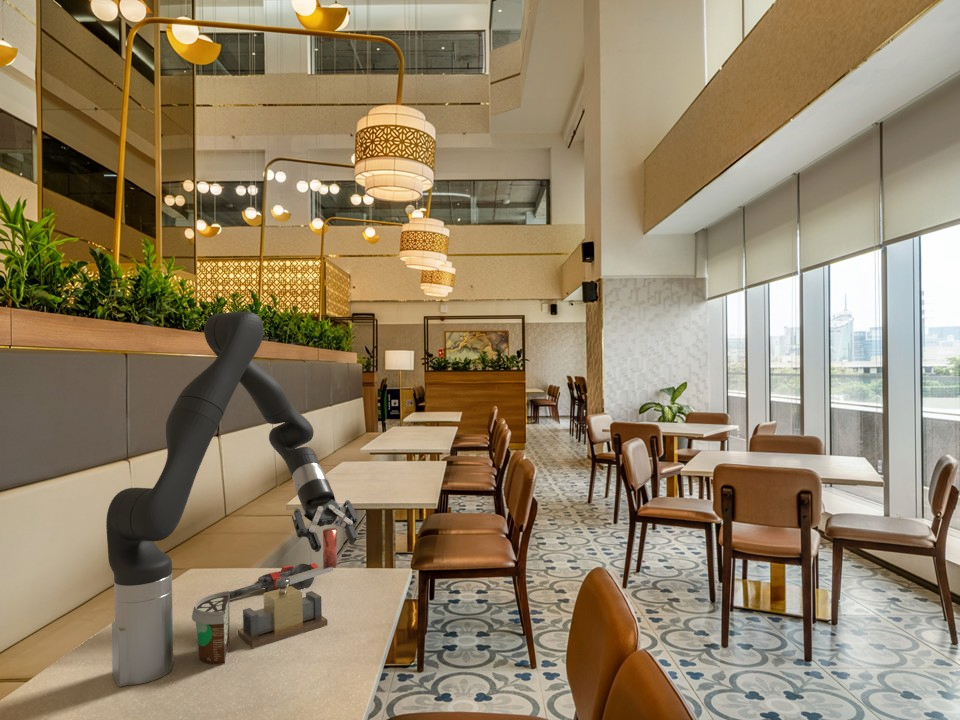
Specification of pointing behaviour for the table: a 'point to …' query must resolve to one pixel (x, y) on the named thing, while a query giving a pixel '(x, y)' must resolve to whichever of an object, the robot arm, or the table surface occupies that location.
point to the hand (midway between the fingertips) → (336, 545)
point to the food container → (212, 627)
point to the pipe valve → (282, 617)
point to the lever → (328, 561)
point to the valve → (270, 579)
